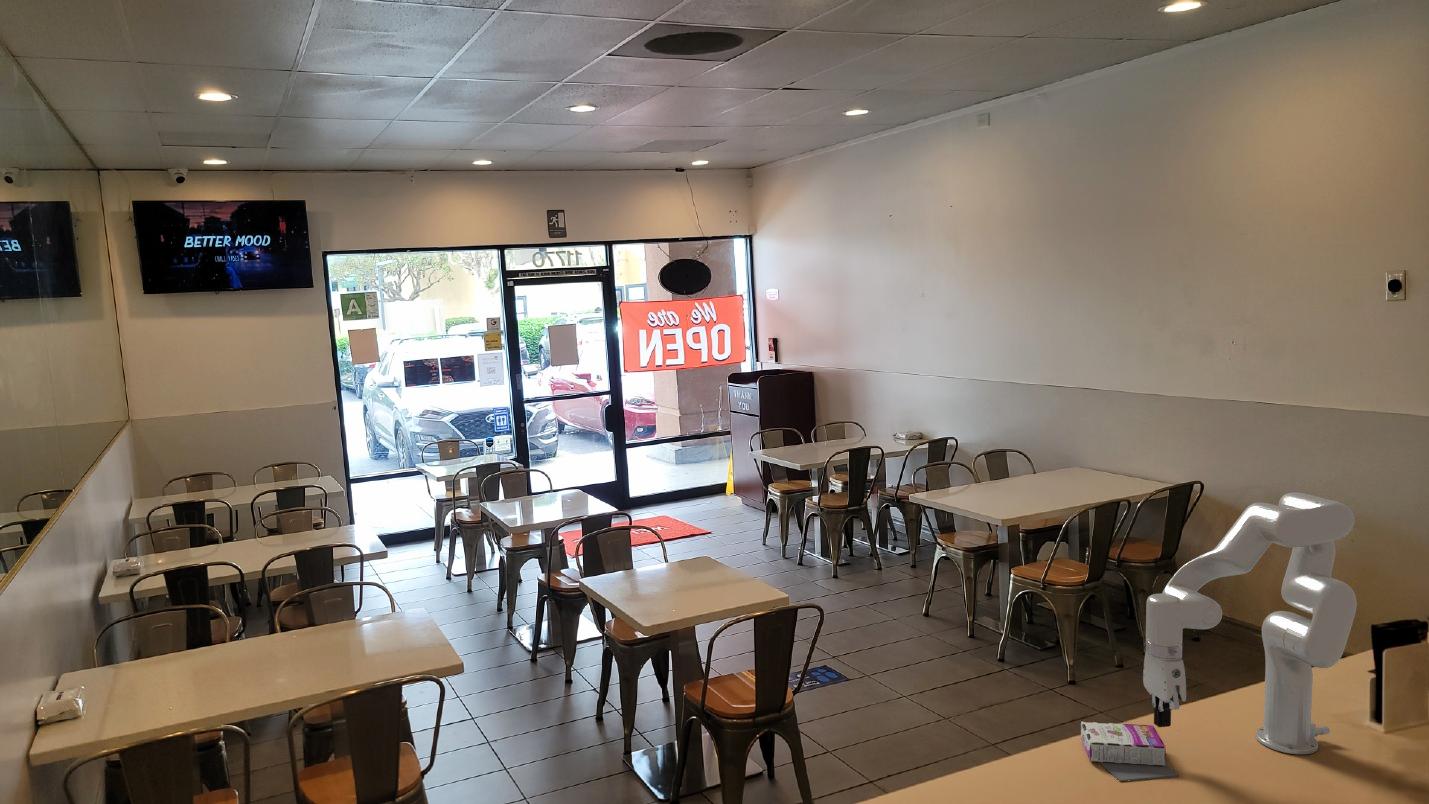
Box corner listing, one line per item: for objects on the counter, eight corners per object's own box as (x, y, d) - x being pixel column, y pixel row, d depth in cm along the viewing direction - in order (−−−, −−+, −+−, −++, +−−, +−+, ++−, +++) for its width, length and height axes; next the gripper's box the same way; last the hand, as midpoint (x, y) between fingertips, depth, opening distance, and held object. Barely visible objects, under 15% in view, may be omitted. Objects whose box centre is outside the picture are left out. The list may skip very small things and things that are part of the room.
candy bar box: (1153, 744, 218) (1080, 739, 221) (1153, 724, 217) (1080, 719, 221) (1165, 768, 207) (1089, 762, 211) (1166, 747, 207) (1089, 741, 210)
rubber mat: (1142, 746, 218) (1142, 745, 218) (1178, 776, 204) (1178, 774, 204) (1087, 751, 216) (1087, 750, 216) (1119, 781, 202) (1119, 780, 202)
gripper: (1199, 659, 202) (1197, 739, 204) (1159, 636, 217) (1158, 710, 219) (1168, 662, 202) (1166, 741, 203) (1129, 638, 216) (1128, 712, 218)
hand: (1162, 725), depth 211 cm, fingers closed
